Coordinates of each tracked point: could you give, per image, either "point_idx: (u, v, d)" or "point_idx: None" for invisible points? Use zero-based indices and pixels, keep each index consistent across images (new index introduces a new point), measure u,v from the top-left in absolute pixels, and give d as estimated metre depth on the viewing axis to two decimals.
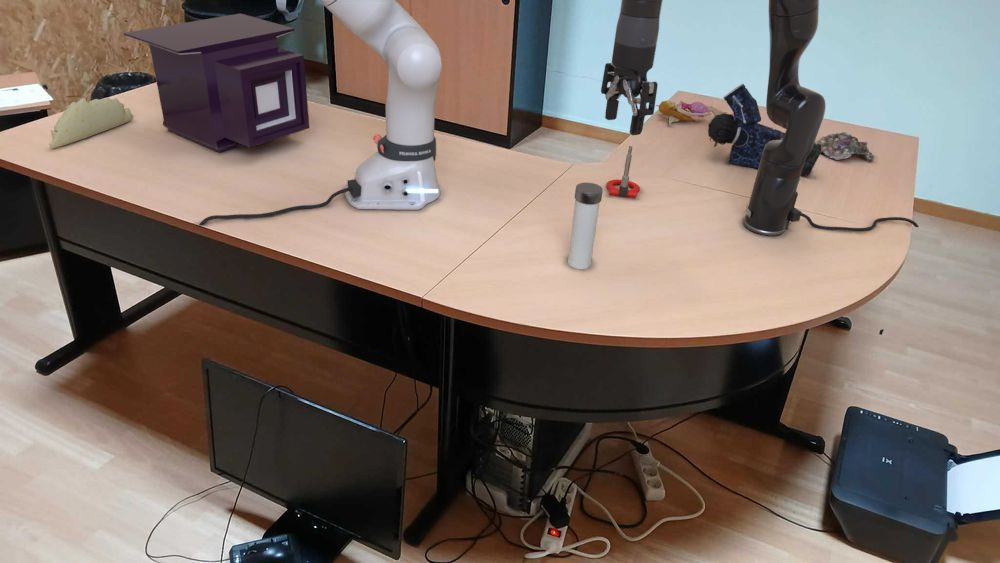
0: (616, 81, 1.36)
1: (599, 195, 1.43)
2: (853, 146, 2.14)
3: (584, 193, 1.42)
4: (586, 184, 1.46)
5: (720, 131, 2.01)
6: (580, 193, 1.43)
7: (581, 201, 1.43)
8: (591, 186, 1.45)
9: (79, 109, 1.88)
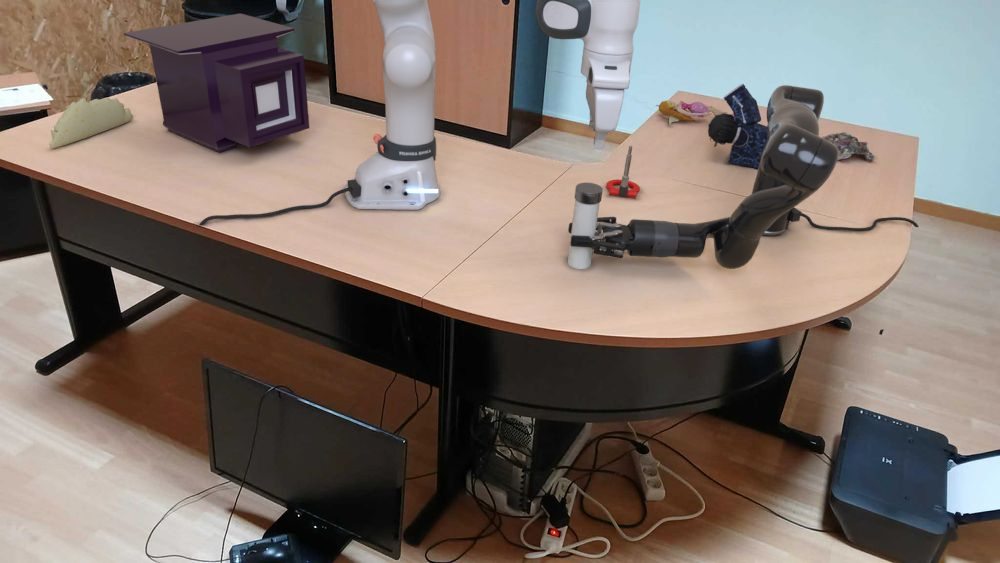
0: None
1: (599, 195, 1.43)
2: (853, 146, 2.14)
3: (584, 193, 1.42)
4: (586, 184, 1.46)
5: (720, 131, 2.01)
6: (580, 193, 1.43)
7: (581, 201, 1.43)
8: (591, 186, 1.45)
9: (79, 109, 1.88)
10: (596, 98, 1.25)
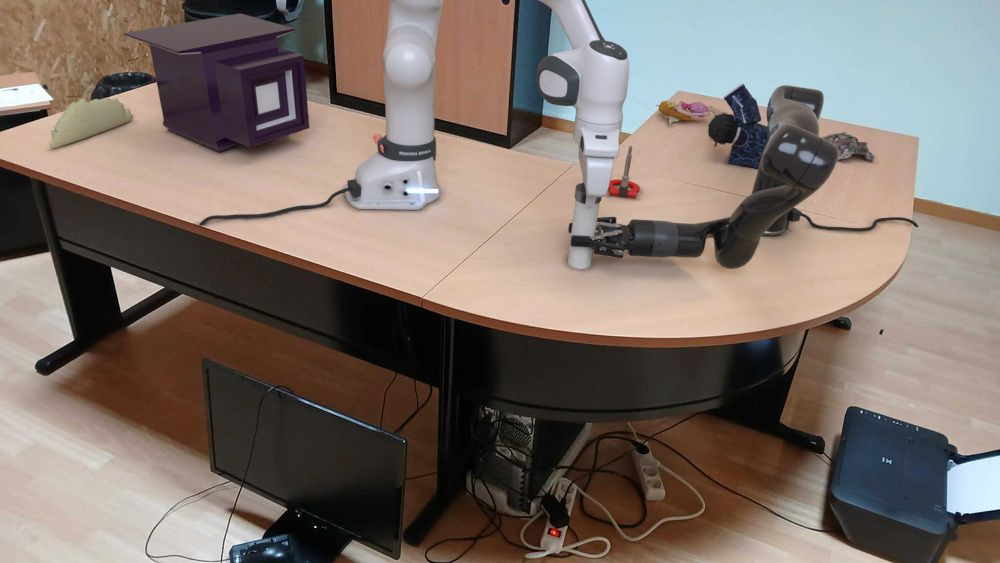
0: None
1: None
2: (853, 146, 2.14)
3: (584, 193, 1.42)
4: None
5: (720, 131, 2.01)
6: (580, 193, 1.43)
7: (581, 201, 1.43)
8: None
9: (79, 109, 1.88)
10: (587, 166, 1.32)
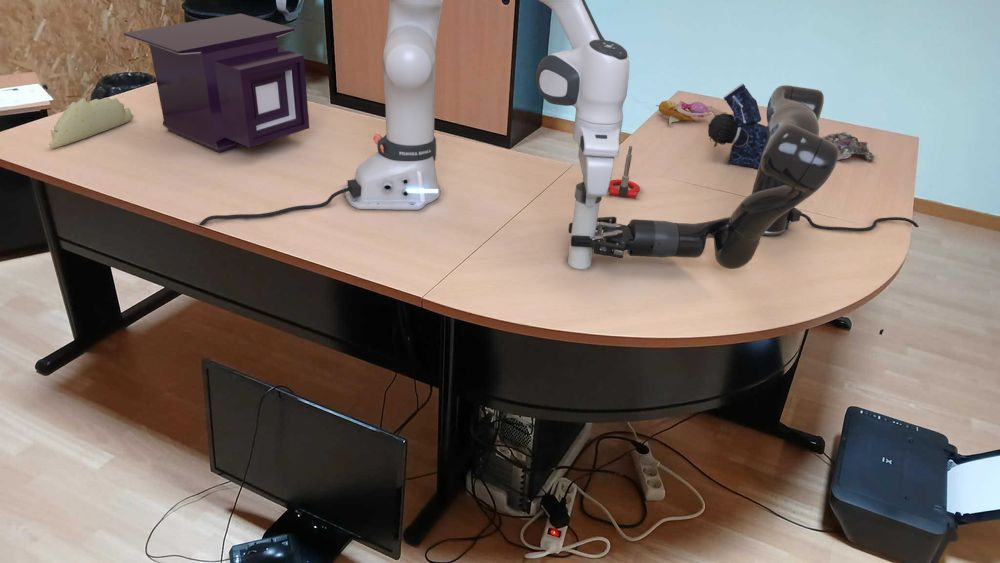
0: None
1: None
2: (853, 146, 2.14)
3: None
4: (581, 188, 1.44)
5: (720, 131, 2.01)
6: None
7: (600, 199, 1.44)
8: None
9: (79, 109, 1.88)
10: (587, 166, 1.32)
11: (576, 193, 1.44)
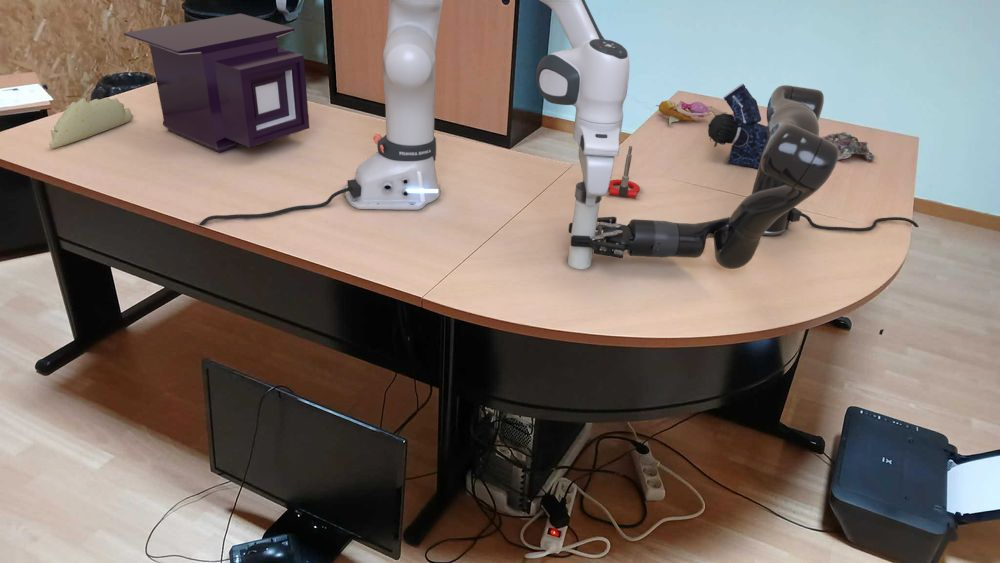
0: None
1: None
2: (853, 146, 2.14)
3: None
4: None
5: (720, 131, 2.01)
6: None
7: None
8: None
9: (79, 109, 1.88)
10: (587, 165, 1.32)
11: None
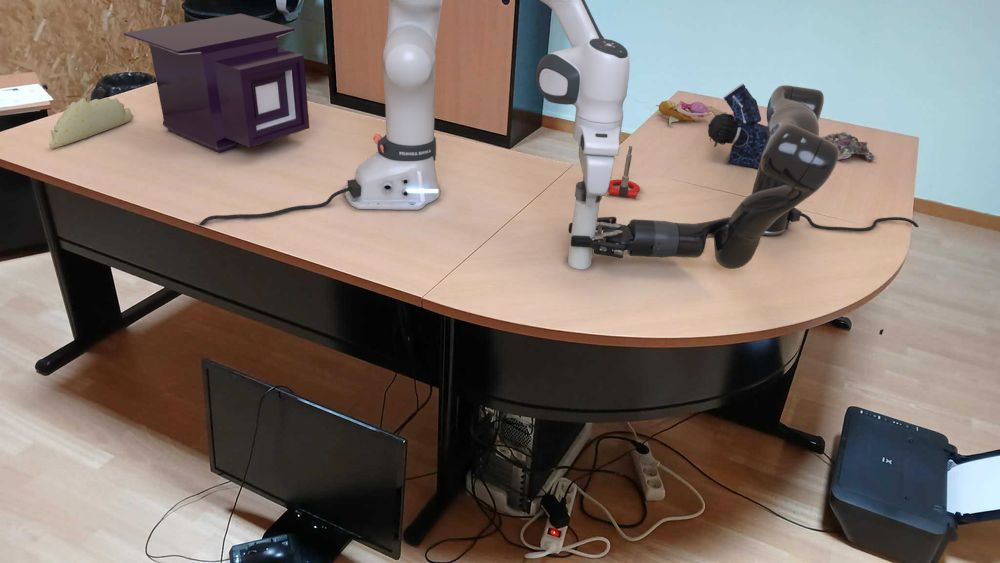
0: None
1: (581, 192, 1.43)
2: (853, 146, 2.14)
3: None
4: None
5: (720, 131, 2.01)
6: None
7: None
8: None
9: (79, 109, 1.88)
10: (587, 165, 1.32)
11: None
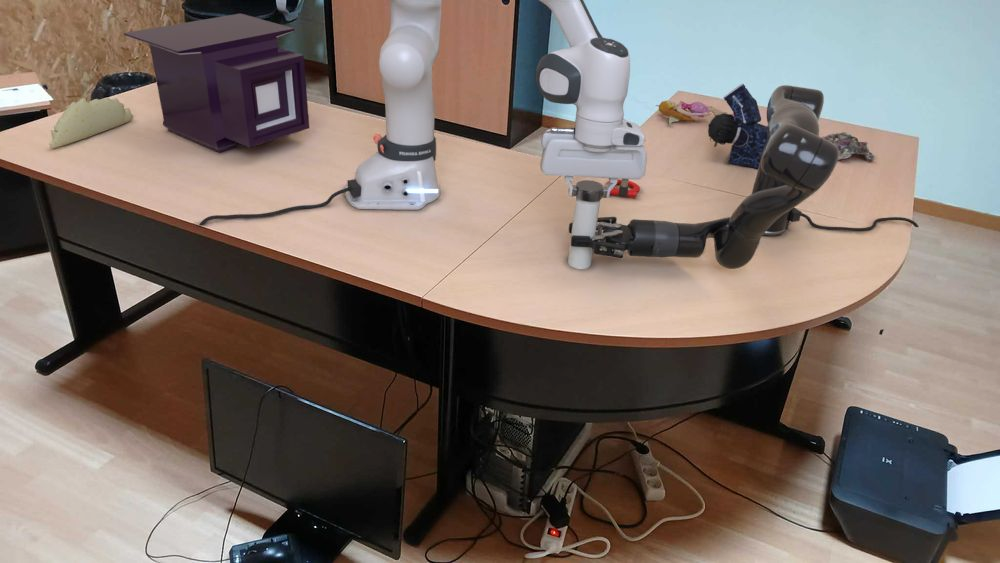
0: None
1: (601, 192, 1.43)
2: (853, 146, 2.14)
3: (586, 191, 1.42)
4: (585, 182, 1.46)
5: (720, 131, 2.01)
6: (582, 191, 1.43)
7: (584, 199, 1.43)
8: (591, 183, 1.45)
9: (79, 109, 1.88)
10: (645, 152, 1.39)
11: None
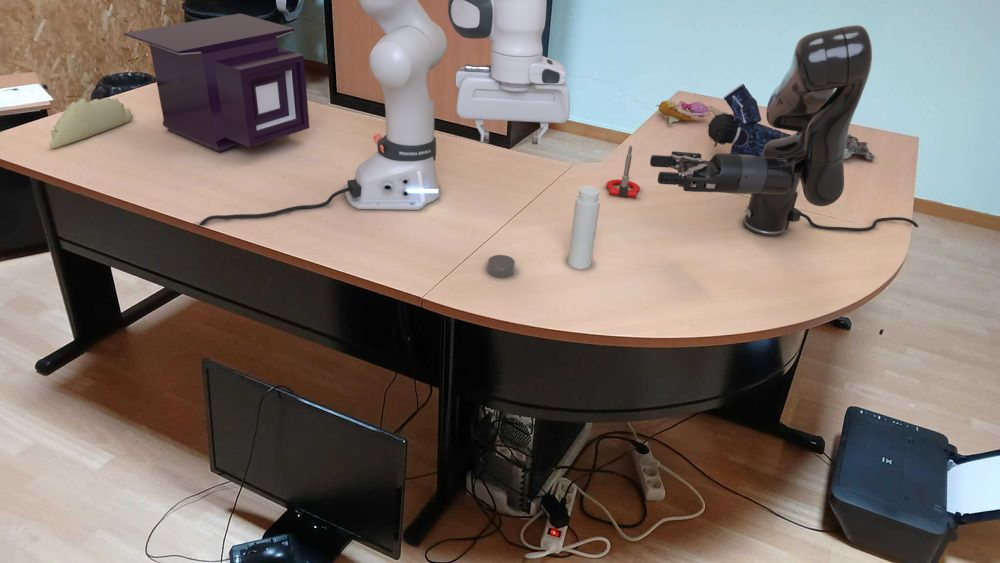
0: None
1: (511, 268, 1.47)
2: (853, 146, 2.14)
3: (497, 268, 1.46)
4: (498, 257, 1.49)
5: (720, 131, 2.01)
6: (493, 268, 1.46)
7: (495, 275, 1.46)
8: (503, 259, 1.48)
9: (79, 109, 1.88)
10: (567, 92, 1.27)
11: None
